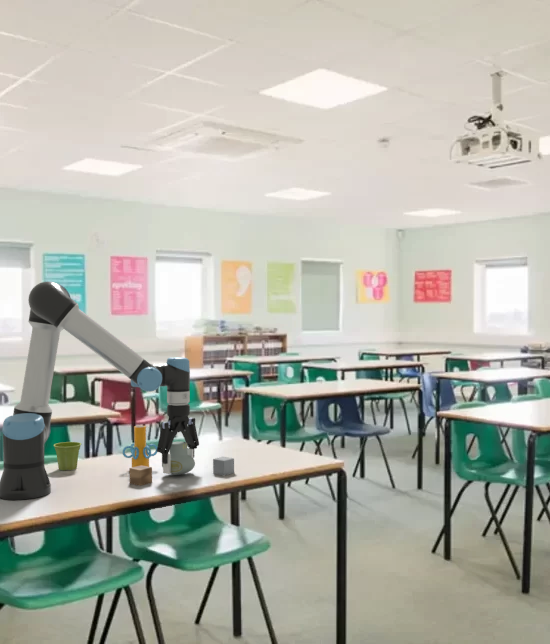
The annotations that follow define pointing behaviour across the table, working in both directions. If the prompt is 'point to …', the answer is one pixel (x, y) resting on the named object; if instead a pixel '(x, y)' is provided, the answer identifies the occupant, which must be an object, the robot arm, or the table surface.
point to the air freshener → (180, 459)
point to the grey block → (223, 466)
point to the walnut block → (140, 475)
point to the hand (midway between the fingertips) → (178, 470)
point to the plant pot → (67, 455)
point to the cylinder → (140, 448)
